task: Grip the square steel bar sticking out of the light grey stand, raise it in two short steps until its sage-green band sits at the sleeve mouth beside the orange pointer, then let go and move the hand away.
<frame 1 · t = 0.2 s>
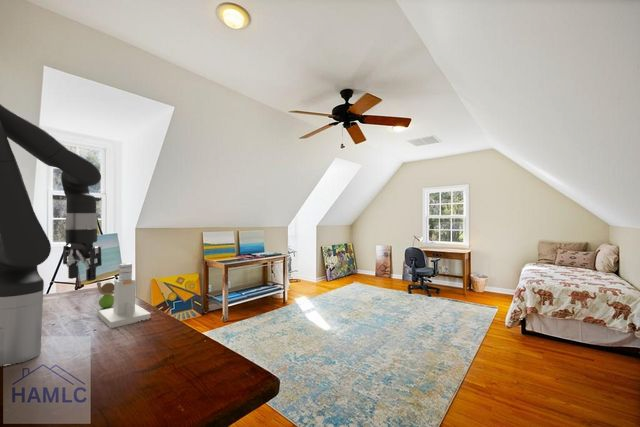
hand: (82, 279, 85), 18 cm above the table, tool pointing down, fingers open, 8 cm apart
grey stand: (123, 317, 102), on the table
steel bar: (125, 286, 102), point 12 cm above the table, slide at 0.0 cm
snail figurine: (105, 308, 112), on the table
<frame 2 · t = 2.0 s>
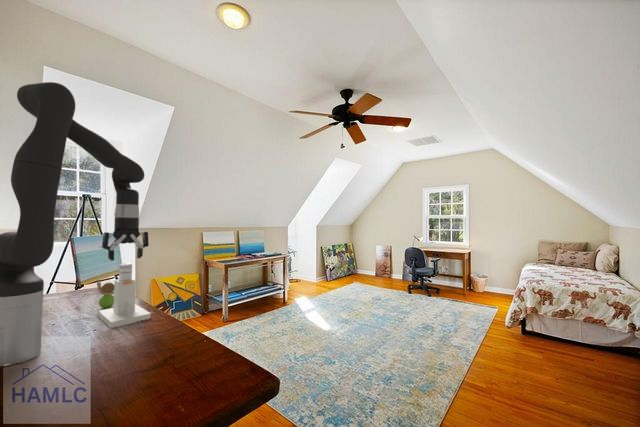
hand: (125, 259, 102), 22 cm above the table, tool pointing down, fingers open, 8 cm apart
nothing on the table moved.
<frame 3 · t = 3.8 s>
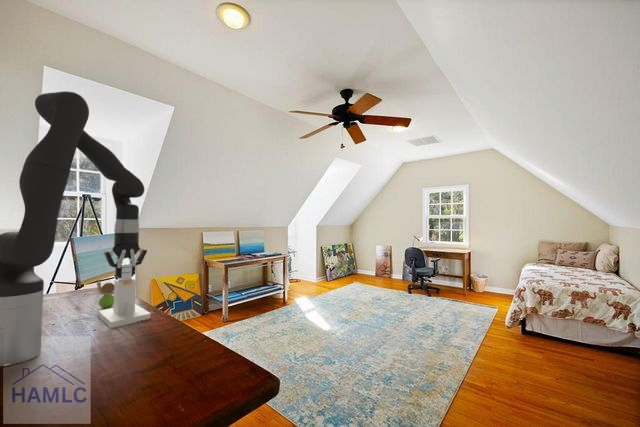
hand: (125, 276, 102), 15 cm above the table, tool pointing down, fingers closed on steel bar, 3 cm apart
steel bar: (125, 286, 102), point 11 cm above the table, slide at 0.0 cm, touching gripper
everything else where it was.
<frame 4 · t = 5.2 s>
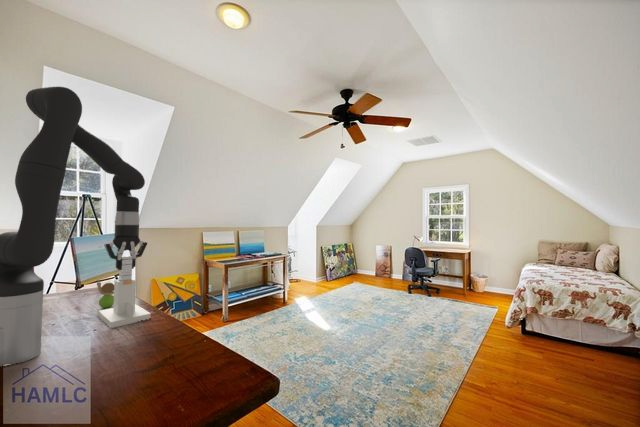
hand: (125, 269, 102), 18 cm above the table, tool pointing down, fingers closed on steel bar, 3 cm apart
steel bar: (125, 278, 102), point 14 cm above the table, slide at 2.9 cm, touching gripper
everything else where it was.
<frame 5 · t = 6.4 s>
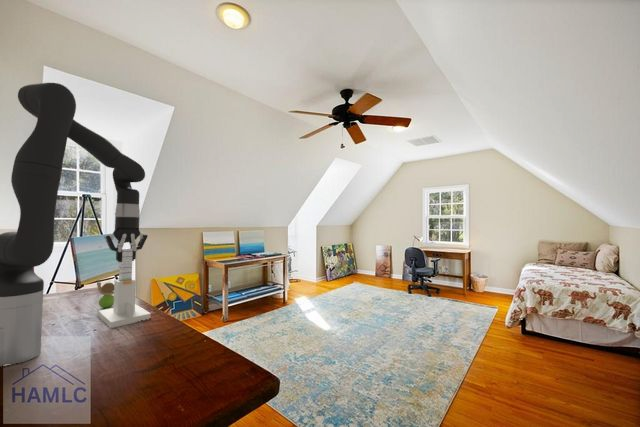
hand: (126, 261, 102), 21 cm above the table, tool pointing down, fingers closed on steel bar, 3 cm apart
steel bar: (125, 270, 102), point 17 cm above the table, slide at 5.9 cm, touching gripper
everything else where it was.
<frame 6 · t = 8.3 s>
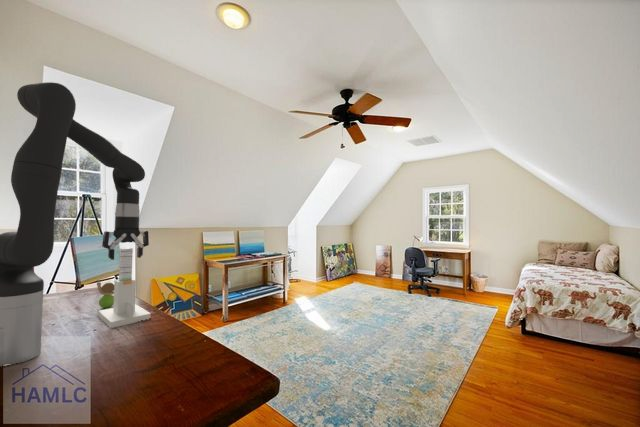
hand: (126, 258, 102), 22 cm above the table, tool pointing down, fingers open, 8 cm apart
steel bar: (125, 270, 102), point 17 cm above the table, slide at 6.0 cm
everything else where it was.
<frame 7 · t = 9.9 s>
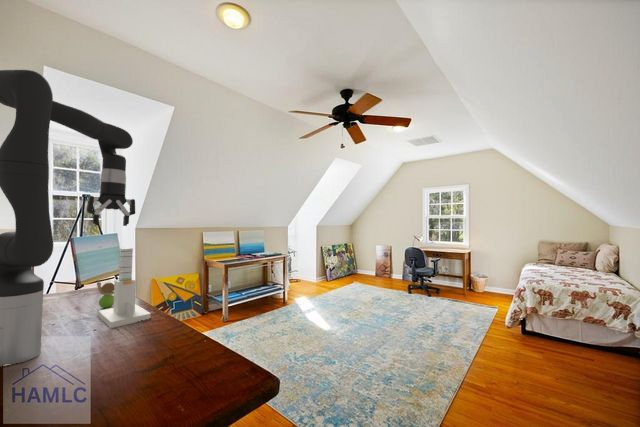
hand: (111, 225, 101), 35 cm above the table, tool pointing down, fingers open, 8 cm apart
nothing on the table moved.
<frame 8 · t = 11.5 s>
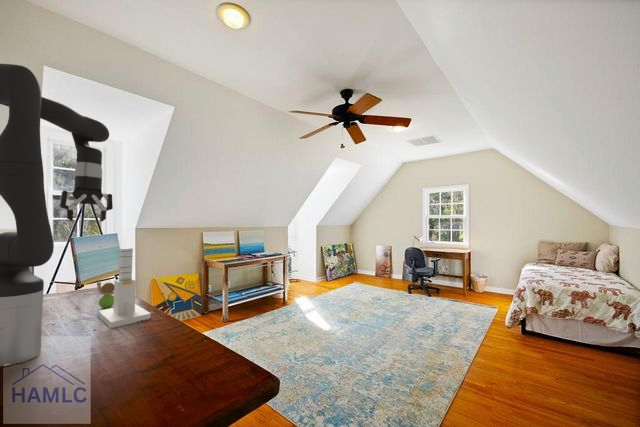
hand: (86, 221, 97), 36 cm above the table, tool pointing down, fingers open, 8 cm apart
nothing on the table moved.
at the end: steel bar slide at 6.0 cm; the gripper is holding nothing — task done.
